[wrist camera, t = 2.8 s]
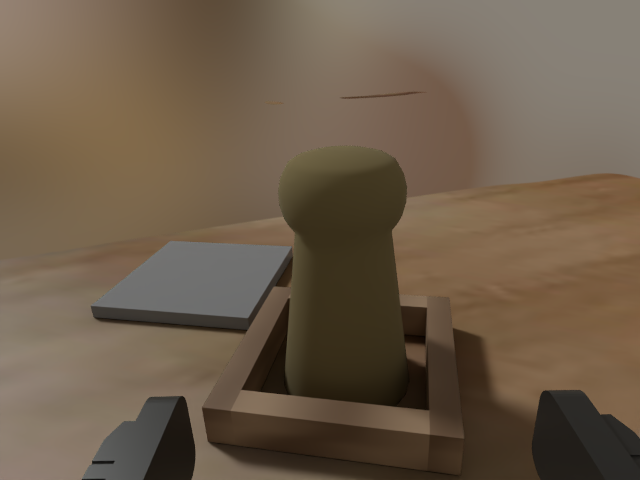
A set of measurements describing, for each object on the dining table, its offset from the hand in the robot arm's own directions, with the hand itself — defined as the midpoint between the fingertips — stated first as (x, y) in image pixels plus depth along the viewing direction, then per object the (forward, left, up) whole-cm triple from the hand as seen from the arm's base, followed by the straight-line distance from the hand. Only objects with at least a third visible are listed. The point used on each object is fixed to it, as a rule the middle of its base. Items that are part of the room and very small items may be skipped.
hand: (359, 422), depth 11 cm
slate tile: (-13, +18, -7) cm, 23 cm away
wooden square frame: (-2, +10, -7) cm, 12 cm away
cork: (-2, +10, -7) cm, 12 cm away
